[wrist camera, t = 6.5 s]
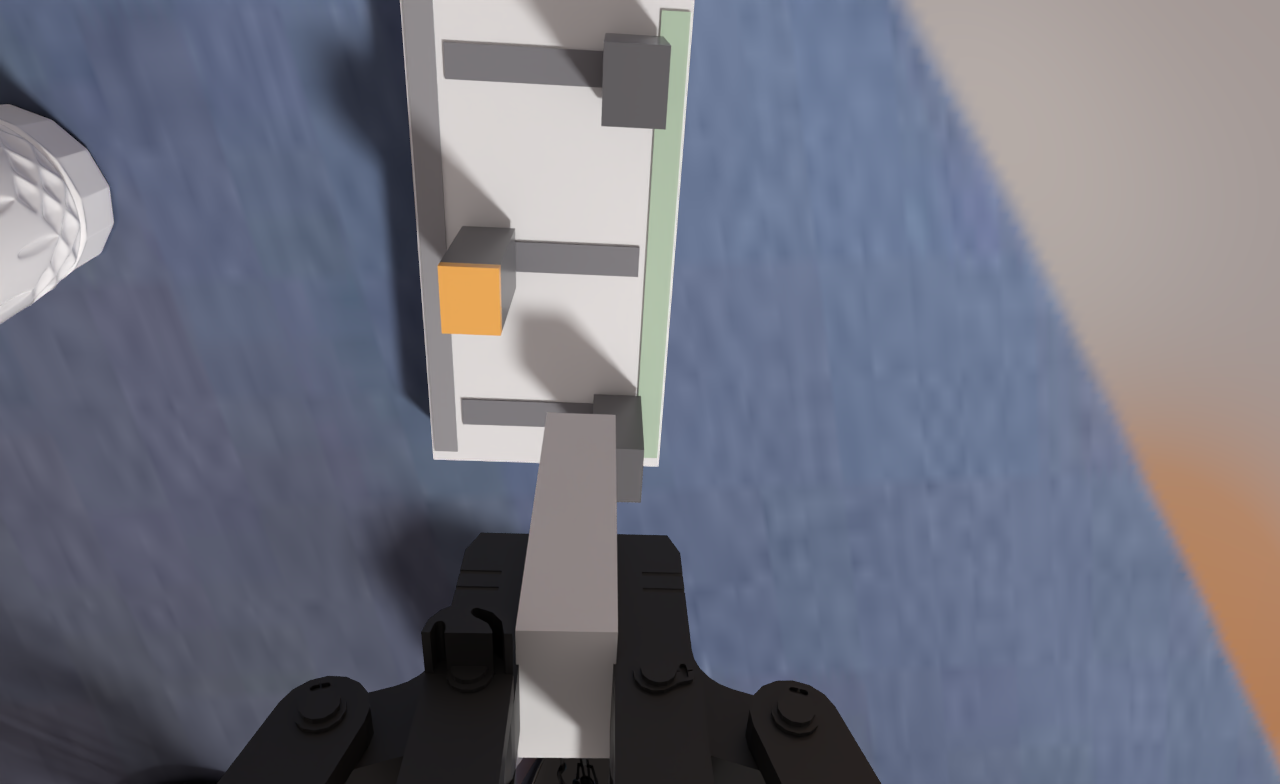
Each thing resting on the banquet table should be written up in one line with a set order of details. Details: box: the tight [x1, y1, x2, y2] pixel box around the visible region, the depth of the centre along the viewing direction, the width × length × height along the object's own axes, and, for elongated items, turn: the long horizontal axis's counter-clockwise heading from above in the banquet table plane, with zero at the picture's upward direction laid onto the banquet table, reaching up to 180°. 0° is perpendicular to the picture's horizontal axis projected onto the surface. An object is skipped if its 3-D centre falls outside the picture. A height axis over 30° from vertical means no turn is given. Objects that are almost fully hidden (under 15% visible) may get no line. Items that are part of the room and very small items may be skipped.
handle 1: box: [601, 33, 671, 130], centre depth 26 cm, size 2×2×4 cm
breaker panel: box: [400, 0, 694, 467], centre depth 33 cm, size 19×10×3 cm, turn 177°
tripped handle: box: [437, 226, 516, 336], centre depth 29 cm, size 2×2×5 cm
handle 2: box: [593, 394, 644, 503], centre depth 33 cm, size 2×2×4 cm
